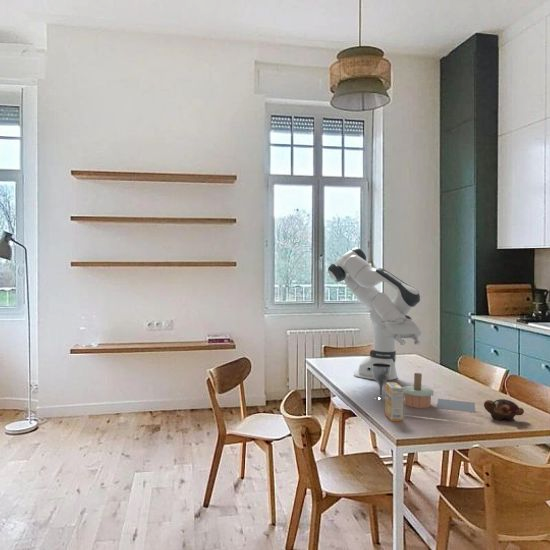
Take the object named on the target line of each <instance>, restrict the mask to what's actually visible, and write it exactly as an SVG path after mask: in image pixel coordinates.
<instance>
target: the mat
mask: <svg viewBox="0 0 550 550" xmlns="http://www.w3.org/2000/svg"><path fill="white" fill-rule="evenodd" d="M475 404H476V403H475V402H471V401H462V400H461V401H460V400H454V399H446V398H445V399H443V398H438V399H437V402H436V409H443V410H451V411H457V412H466V413H467V412H468V413H476V405H475Z"/></svg>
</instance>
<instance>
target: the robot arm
mask: <svg viewBox="0 0 550 550" xmlns="http://www.w3.org/2000/svg"><path fill="white" fill-rule="evenodd" d="M327 272H328V275H329V276H330V278H331V279H332V280H333V281H335V282H336V283H337V282H338V283H340V282H343V281H344V284H345V285H346V286H347V288H348V289H349V290H350V292H351V293H352V294H353V295H354V296H355V297H356V299H357V300H358V301H359V302H360V303H361V304H362V305H363V306H365V307H366V308H367V309H369V310H370V313H369V318H370V320H371V323H372V325H371V326H372V329H373V348H371V349H370V350H369V356H368V357H367V358H365V359H363V360H362V361H361V362H360V363H359V365H358V370H356V371H355V372H353V373H354V374H353V376H354V377H356V378H362V379H368V380H374V381H376V379H375V378H374V376H373V370H372V365H373V364H374V363H384V364H389V365H391V371H390V376H389V378H388V380H387V381H390V380H391V381H392V380H397V379H398V374H397V368H396V361H397V352H396V351H397V350H396V341H397V342H398V343H399V344H400V345H401V346H405V344H406V343H407V342H406V341H405V340H404V339H412V340H414V341H413V343H414V345H416V346H418V345H420V344H421V342H420V340H419V337H420V336H421V334H422V332H421V329H420V328H419V327H418V326H417V324H416V323H415V322H414V321H413V317H411V316H410V315H409V314H410V312H411V311H412V310H413V309H414V307H416V306H417V305H418V304H419V303H420V302H421V296H420V292H419V291H418V290H417V288H415V287H413V286H411V285H409V284H407V283H405V282H404V281H403V280H402V279H400V278H398V277H397V276H395V275H394V274H392V273H391V272H390V271H388V270H386V269H384V268H381V267H378V268H375V267H374V266H372V265H371V264H370V263H368V262H367V256H366V254H365V252H364V251H363V250H362V248H359V247H353V248H350V249H349V250H348V251H347V252H345V253H343V254H342V255H340V257H338V259H336V260H335V261H334V262H333V263H331V264H330V265H329V266H328V270H327ZM382 282H385V283H386V284H388V285H389V286H390V287H392V288H393V289H395V290H397V294H396V295H395V297H394V298H393V299H391V298H390V297H389V296H388V295H387V294H386V293H385V292H381V291H380V290H378V289H377V287H376V286H377V285H379V284H381V283H382Z"/></svg>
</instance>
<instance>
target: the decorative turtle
mask: <svg viewBox="0 0 550 550" xmlns="http://www.w3.org/2000/svg"><path fill="white" fill-rule="evenodd" d="M483 408H484V409H485V410H486V412H488V413H489V414H490V416H491V417H493V418H494V419H495V420H496V421H498V422H500V421H503V420H504V419H505V420H506V421H508V422H513V420H514V419H515V417H516V416H522V415H524V412H525V410H524V408H522V407H519V405H518V404H517V403H515V402H513V401H512V400H510V399H504V398H500V399H499V398H498V399H496V400H492V399H487V400H485V401H484V403H483Z"/></svg>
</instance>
